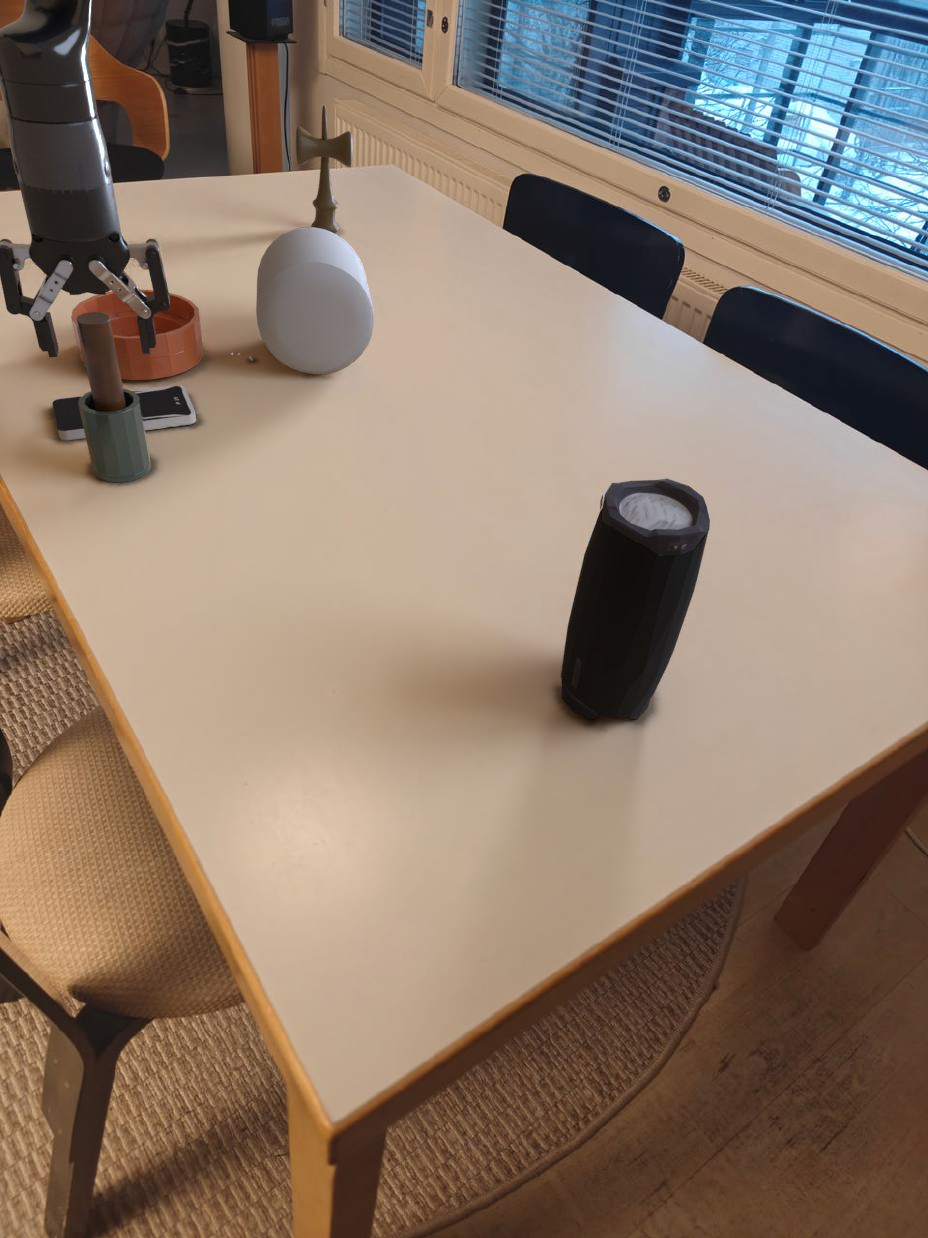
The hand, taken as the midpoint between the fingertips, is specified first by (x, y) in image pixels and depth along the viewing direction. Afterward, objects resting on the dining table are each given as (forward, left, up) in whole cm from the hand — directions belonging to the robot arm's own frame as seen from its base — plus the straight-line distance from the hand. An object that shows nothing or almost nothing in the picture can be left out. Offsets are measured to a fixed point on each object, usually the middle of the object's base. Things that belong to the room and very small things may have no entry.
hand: (100, 352), depth 84 cm
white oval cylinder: (+23, +31, -13) cm, 41 cm away
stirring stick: (0, 0, -13) cm, 13 cm away
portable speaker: (+40, -41, -13) cm, 59 cm away
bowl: (+2, +27, -13) cm, 30 cm away
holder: (0, 0, -13) cm, 13 cm away
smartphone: (0, +11, -13) cm, 17 cm away
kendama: (+33, +77, -13) cm, 85 cm away
